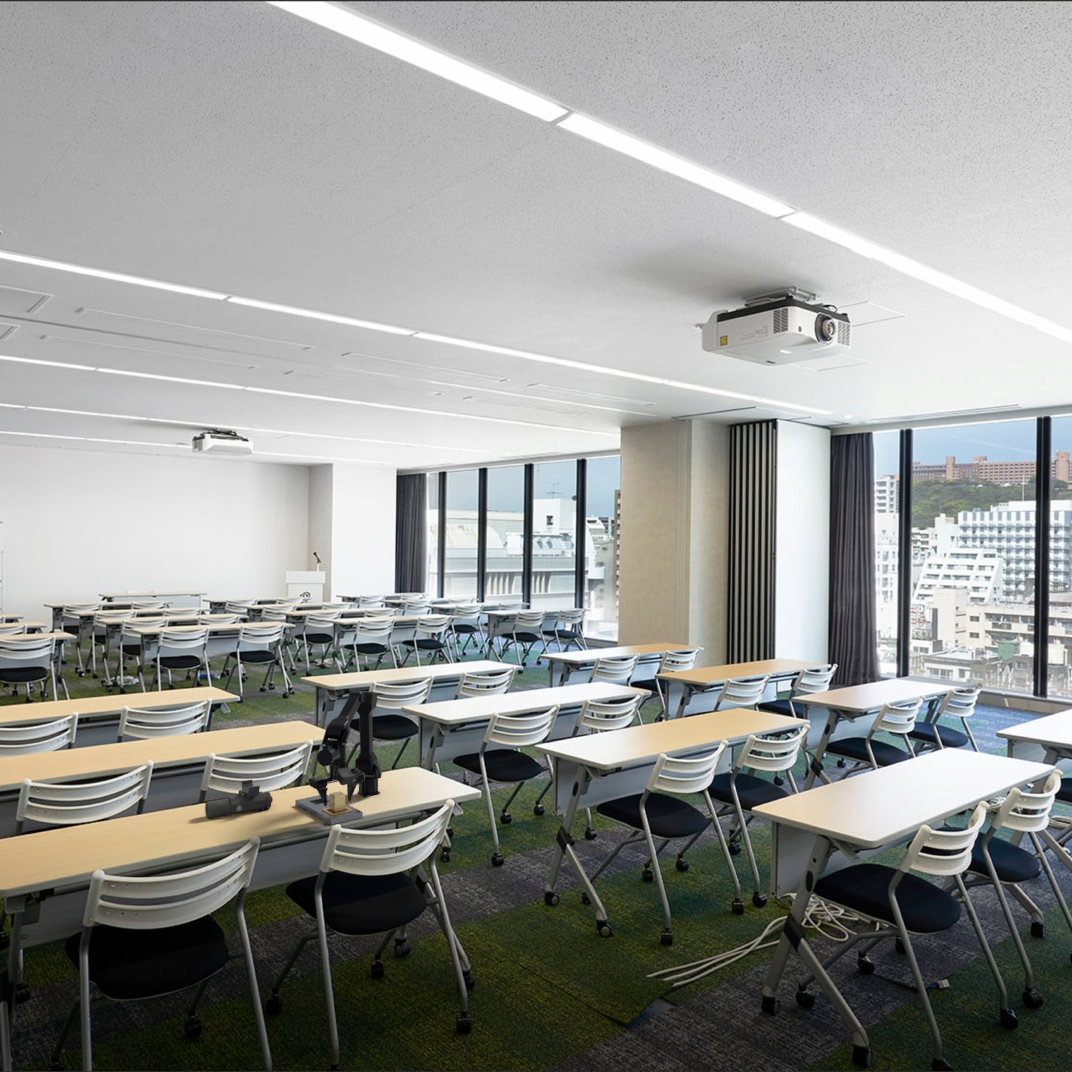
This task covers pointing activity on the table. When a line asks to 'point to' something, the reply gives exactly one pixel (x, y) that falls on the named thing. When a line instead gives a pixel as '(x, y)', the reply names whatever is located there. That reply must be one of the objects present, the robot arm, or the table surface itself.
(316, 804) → the socket plate
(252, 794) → the laser sight
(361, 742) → the robot arm
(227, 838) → the table surface
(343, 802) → the brass peg
